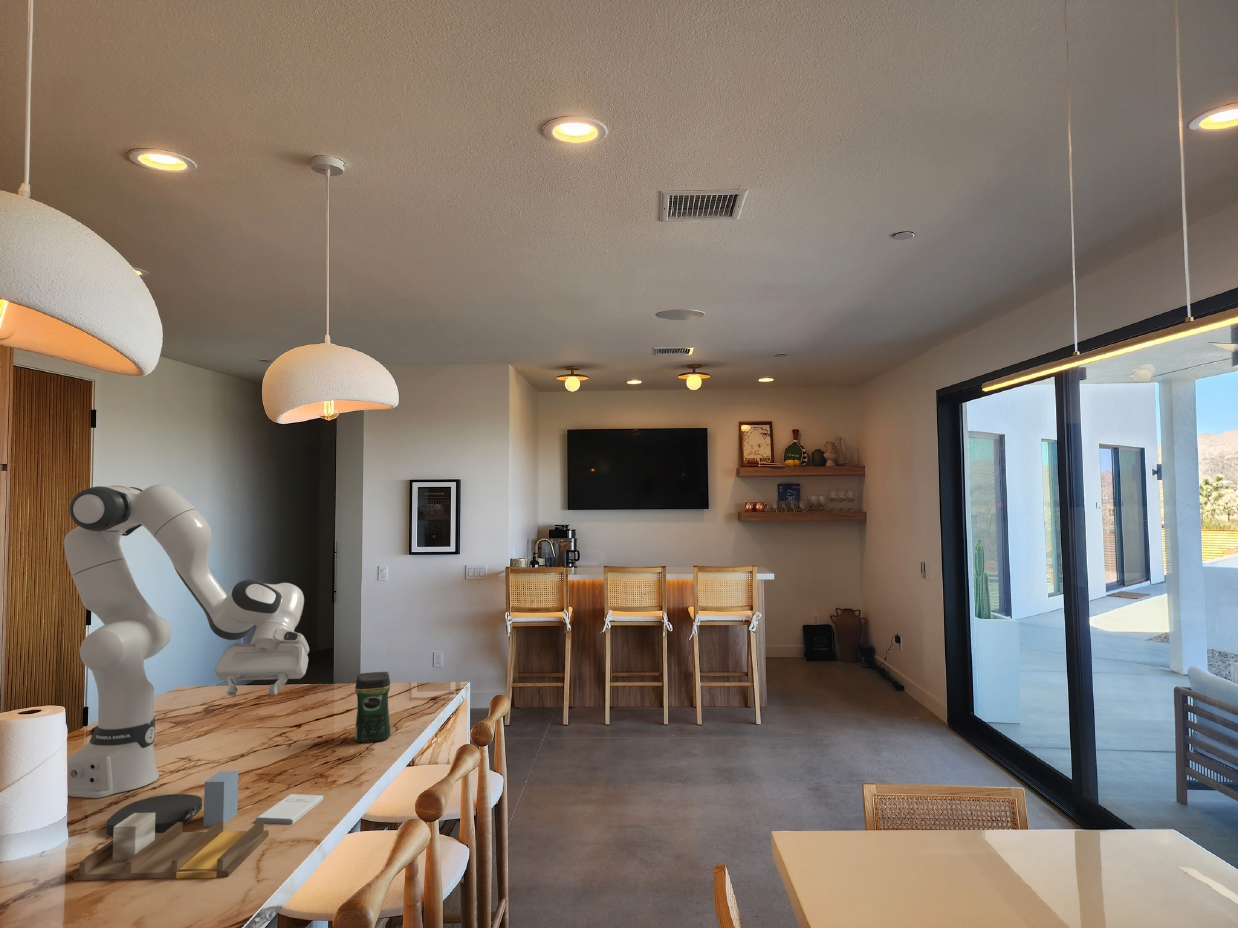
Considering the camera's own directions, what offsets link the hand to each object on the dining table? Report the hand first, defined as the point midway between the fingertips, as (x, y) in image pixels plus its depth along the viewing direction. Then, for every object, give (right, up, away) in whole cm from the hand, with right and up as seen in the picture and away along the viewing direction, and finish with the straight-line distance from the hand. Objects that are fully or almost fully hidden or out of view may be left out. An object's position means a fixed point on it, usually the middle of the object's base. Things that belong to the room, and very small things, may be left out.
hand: (251, 693), depth 165 cm
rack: (+1, -21, -30) cm, 37 cm away
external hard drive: (+13, -23, -9) cm, 28 cm away
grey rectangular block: (0, -22, -14) cm, 26 cm away
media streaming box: (-14, -23, -13) cm, 30 cm away
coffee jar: (+15, -25, +39) cm, 49 cm away
